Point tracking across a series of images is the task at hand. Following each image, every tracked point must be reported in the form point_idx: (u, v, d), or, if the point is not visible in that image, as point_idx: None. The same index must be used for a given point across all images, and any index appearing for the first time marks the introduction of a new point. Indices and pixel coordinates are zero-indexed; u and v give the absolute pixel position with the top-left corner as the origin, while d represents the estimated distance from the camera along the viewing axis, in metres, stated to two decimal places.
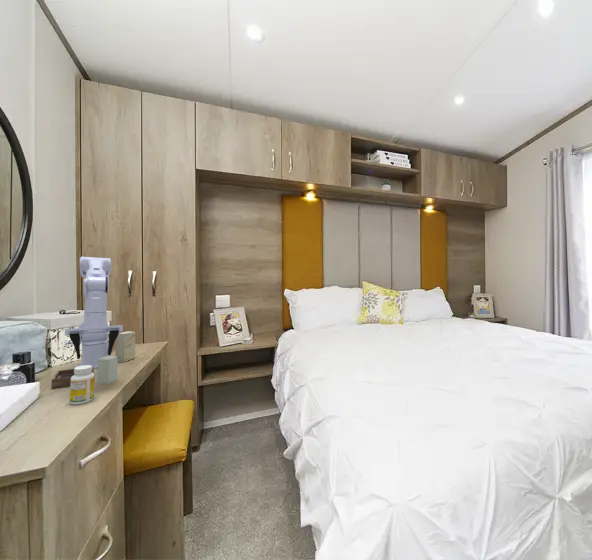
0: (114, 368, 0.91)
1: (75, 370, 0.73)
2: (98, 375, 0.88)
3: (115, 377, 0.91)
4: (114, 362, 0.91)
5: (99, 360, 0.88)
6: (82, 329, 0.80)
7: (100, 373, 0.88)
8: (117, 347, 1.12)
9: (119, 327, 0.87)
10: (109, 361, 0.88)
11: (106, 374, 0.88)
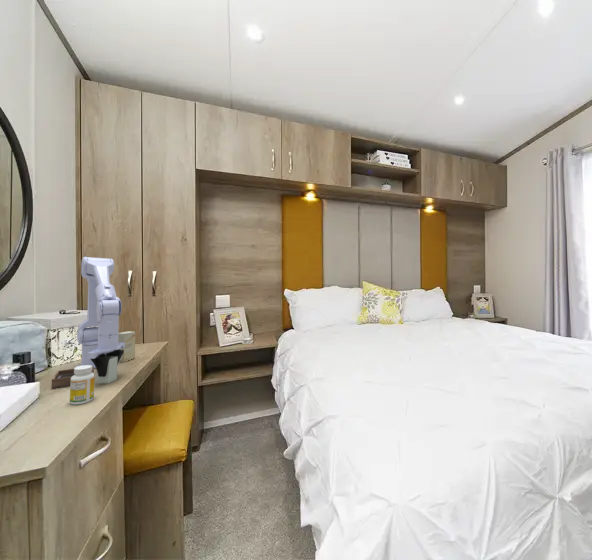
0: (114, 368, 0.91)
1: (75, 370, 0.73)
2: None
3: (115, 377, 0.91)
4: (114, 362, 0.91)
5: None
6: (106, 351, 0.87)
7: None
8: None
9: (123, 345, 0.96)
10: (109, 361, 0.88)
11: (106, 374, 0.88)
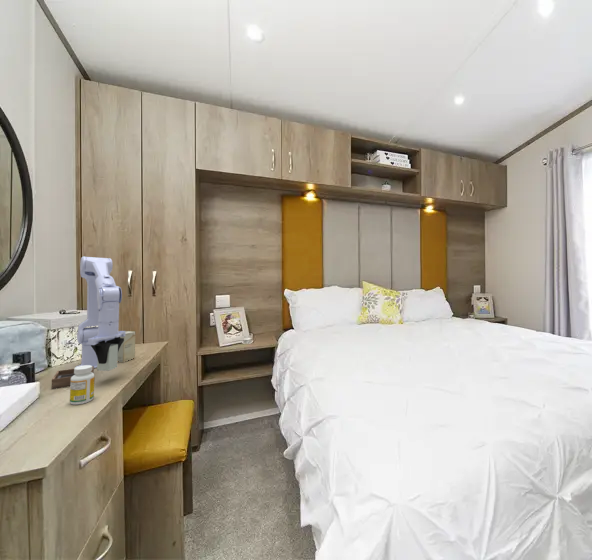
0: (114, 356, 0.91)
1: (75, 370, 0.73)
2: (98, 362, 0.88)
3: (115, 365, 0.91)
4: (114, 350, 0.91)
5: None
6: (107, 338, 0.87)
7: None
8: None
9: (124, 333, 0.97)
10: (110, 348, 0.88)
11: (107, 361, 0.88)
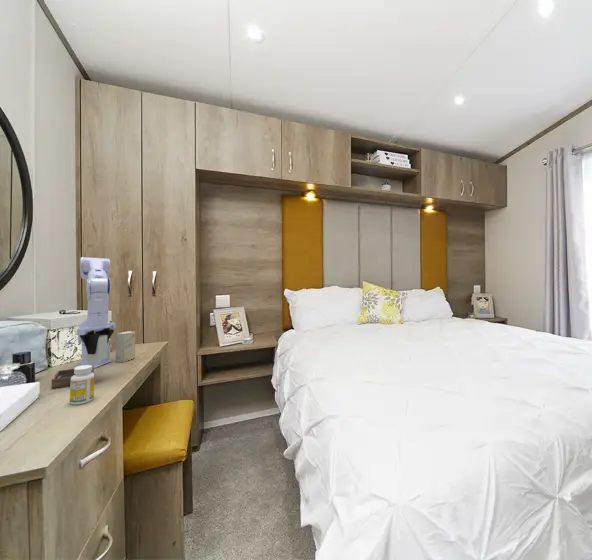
0: (104, 346, 0.91)
1: (75, 370, 0.73)
2: None
3: (105, 355, 0.91)
4: (104, 341, 0.91)
5: None
6: (96, 328, 0.87)
7: None
8: (117, 347, 1.12)
9: (113, 324, 0.96)
10: (99, 339, 0.88)
11: (96, 351, 0.88)
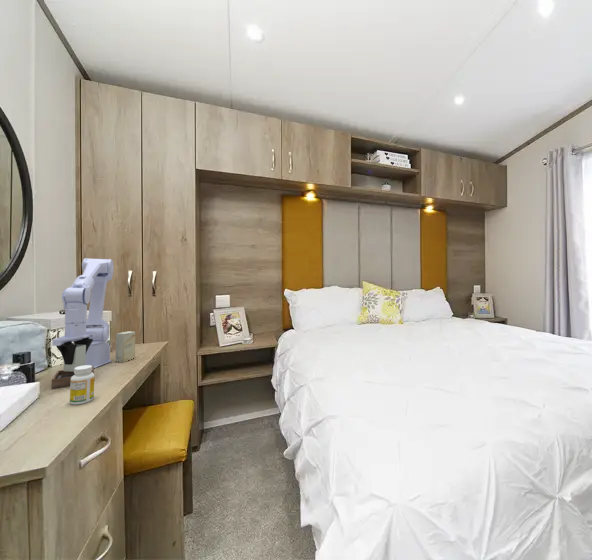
0: (82, 356, 0.90)
1: (75, 370, 0.73)
2: None
3: None
4: (82, 351, 0.90)
5: None
6: (73, 338, 0.86)
7: None
8: (117, 347, 1.12)
9: (93, 333, 0.96)
10: (76, 349, 0.88)
11: (73, 362, 0.87)
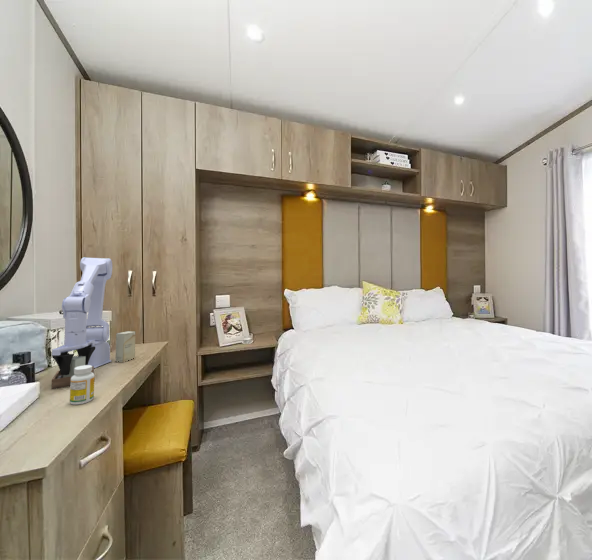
0: None
1: (75, 370, 0.73)
2: (64, 375, 0.87)
3: None
4: (82, 362, 0.90)
5: None
6: (72, 347, 0.86)
7: None
8: (117, 347, 1.12)
9: (93, 342, 0.96)
10: (76, 361, 0.88)
11: (73, 374, 0.87)
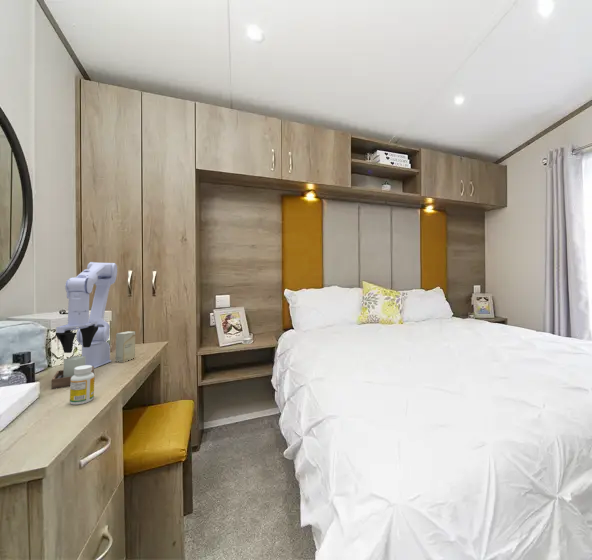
0: None
1: (75, 370, 0.73)
2: (64, 375, 0.87)
3: None
4: (82, 362, 0.90)
5: (65, 360, 0.88)
6: (76, 326, 0.90)
7: (66, 373, 0.87)
8: (117, 347, 1.12)
9: (95, 323, 0.99)
10: (76, 361, 0.88)
11: (73, 374, 0.87)
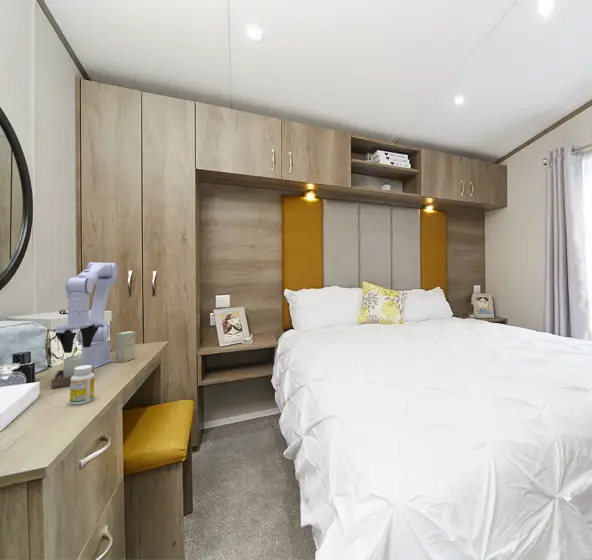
0: None
1: (75, 370, 0.73)
2: (64, 375, 0.87)
3: None
4: (82, 362, 0.90)
5: (65, 360, 0.88)
6: (76, 326, 0.90)
7: (66, 373, 0.87)
8: (117, 347, 1.12)
9: (95, 323, 0.99)
10: (76, 361, 0.88)
11: (73, 374, 0.87)
